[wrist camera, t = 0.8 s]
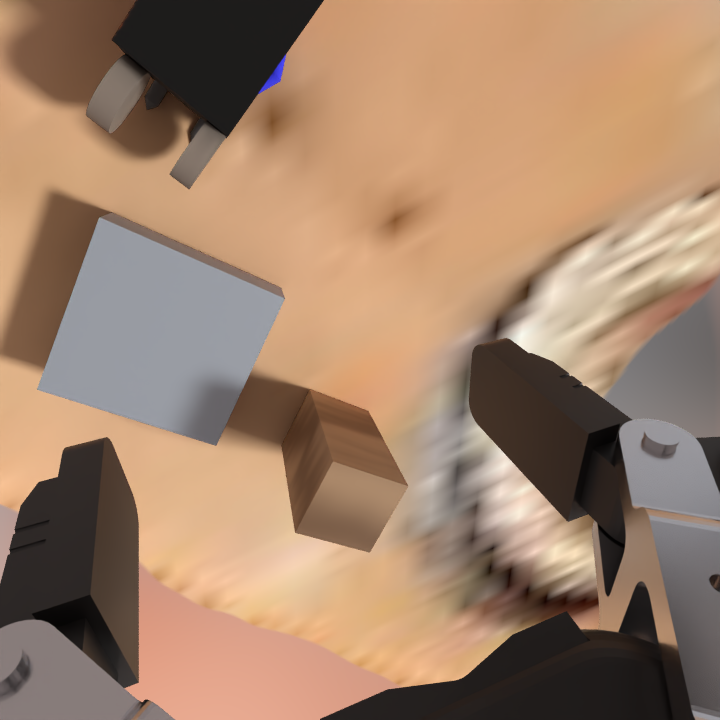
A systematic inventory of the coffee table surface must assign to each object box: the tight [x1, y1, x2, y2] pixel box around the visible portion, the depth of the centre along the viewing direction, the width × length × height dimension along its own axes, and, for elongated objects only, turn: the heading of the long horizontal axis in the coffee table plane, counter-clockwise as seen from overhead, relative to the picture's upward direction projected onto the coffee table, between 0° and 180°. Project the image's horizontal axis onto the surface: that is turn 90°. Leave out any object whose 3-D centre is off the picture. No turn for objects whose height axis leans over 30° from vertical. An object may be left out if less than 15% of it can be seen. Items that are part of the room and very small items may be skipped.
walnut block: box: [282, 389, 408, 552], centre depth 34 cm, size 5×5×10 cm
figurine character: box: [86, 0, 324, 189], centre depth 26 cm, size 7×8×15 cm
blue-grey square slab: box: [37, 213, 285, 446], centre depth 32 cm, size 11×11×3 cm
